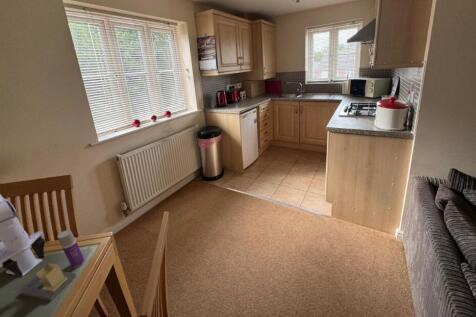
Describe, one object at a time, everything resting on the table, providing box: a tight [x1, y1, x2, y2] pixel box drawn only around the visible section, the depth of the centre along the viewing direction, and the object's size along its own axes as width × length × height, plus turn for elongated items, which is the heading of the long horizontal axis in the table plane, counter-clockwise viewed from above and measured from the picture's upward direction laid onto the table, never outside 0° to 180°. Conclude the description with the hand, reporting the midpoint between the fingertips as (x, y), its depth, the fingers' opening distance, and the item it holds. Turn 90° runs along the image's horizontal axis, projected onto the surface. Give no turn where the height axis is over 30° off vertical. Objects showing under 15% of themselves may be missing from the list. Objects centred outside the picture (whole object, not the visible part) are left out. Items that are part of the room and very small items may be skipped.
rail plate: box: [18, 270, 77, 302], centre depth 86 cm, size 14×10×2 cm
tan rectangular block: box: [35, 262, 65, 290], centre depth 84 cm, size 4×4×7 cm
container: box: [56, 229, 86, 269], centre depth 92 cm, size 5×5×15 cm
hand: (31, 266), depth 83 cm, fingers open, 7 cm apart
